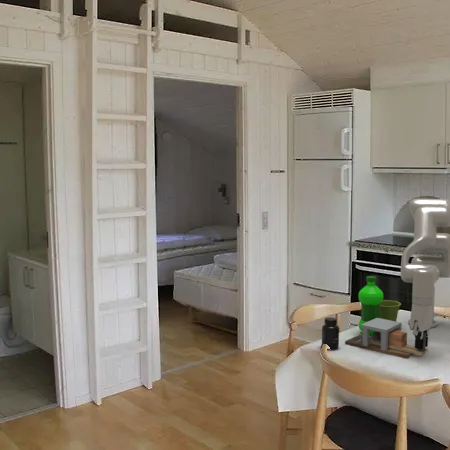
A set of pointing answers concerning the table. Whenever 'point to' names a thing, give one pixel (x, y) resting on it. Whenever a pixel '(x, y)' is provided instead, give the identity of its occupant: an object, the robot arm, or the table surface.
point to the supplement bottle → (330, 333)
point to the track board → (376, 347)
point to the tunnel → (380, 330)
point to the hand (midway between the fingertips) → (421, 347)
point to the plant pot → (389, 310)
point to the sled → (399, 342)
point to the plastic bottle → (370, 302)
